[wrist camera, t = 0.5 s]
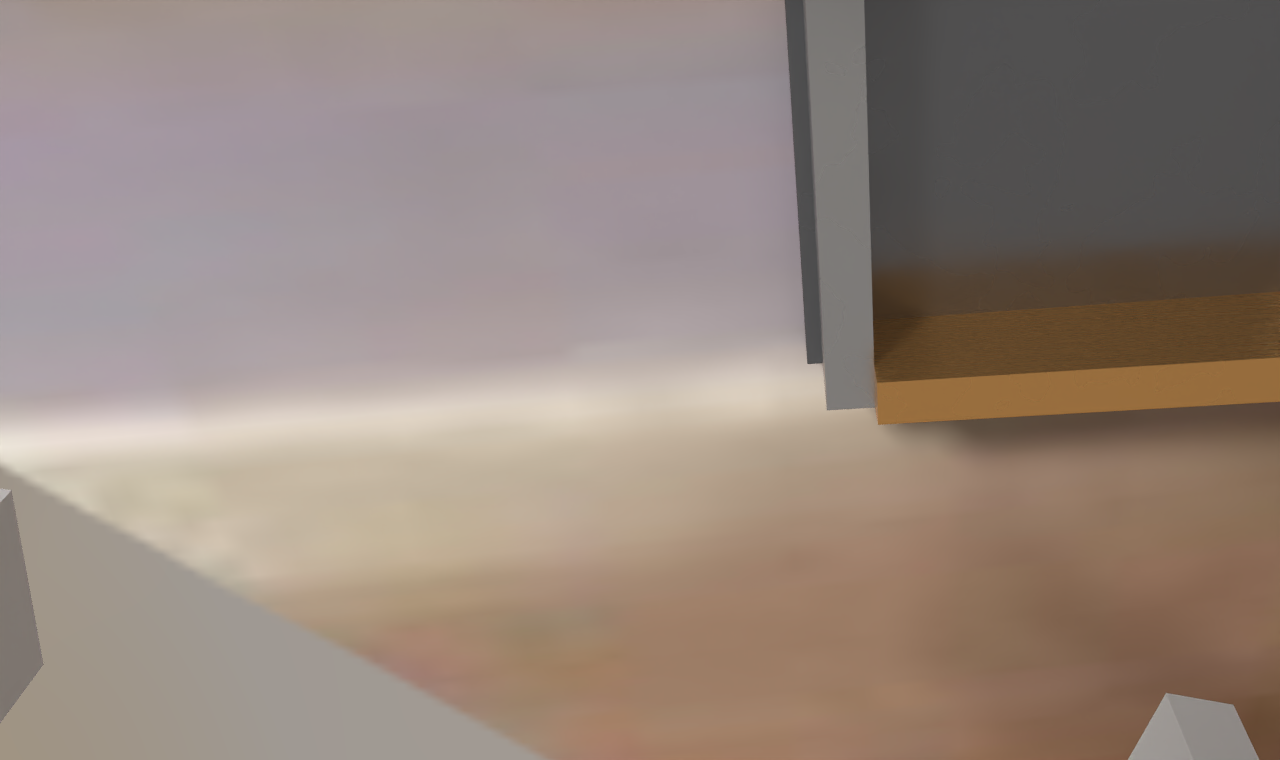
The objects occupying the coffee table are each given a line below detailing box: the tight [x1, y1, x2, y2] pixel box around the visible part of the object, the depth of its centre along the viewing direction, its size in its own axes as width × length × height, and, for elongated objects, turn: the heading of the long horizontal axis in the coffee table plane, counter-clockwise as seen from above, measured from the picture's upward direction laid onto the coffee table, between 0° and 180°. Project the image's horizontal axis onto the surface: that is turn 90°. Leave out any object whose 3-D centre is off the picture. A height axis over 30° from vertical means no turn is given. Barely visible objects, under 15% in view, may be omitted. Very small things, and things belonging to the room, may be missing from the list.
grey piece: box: [785, 0, 1280, 425], centre depth 30 cm, size 22×19×5 cm
